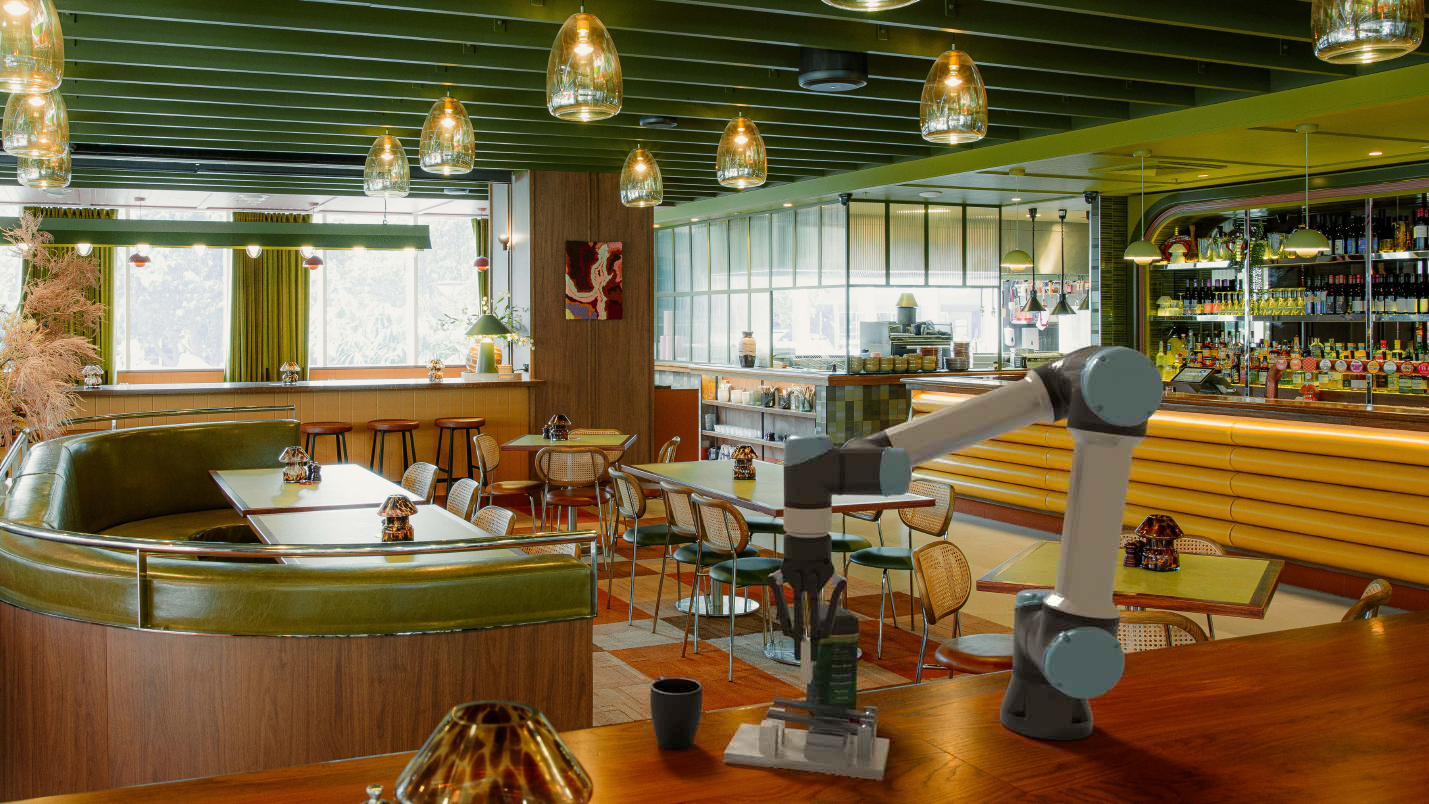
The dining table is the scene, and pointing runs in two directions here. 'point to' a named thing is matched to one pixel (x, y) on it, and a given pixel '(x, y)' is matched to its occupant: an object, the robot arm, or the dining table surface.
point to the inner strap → (820, 708)
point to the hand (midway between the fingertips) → (806, 680)
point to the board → (796, 752)
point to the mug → (675, 711)
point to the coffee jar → (836, 664)
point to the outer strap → (815, 721)
